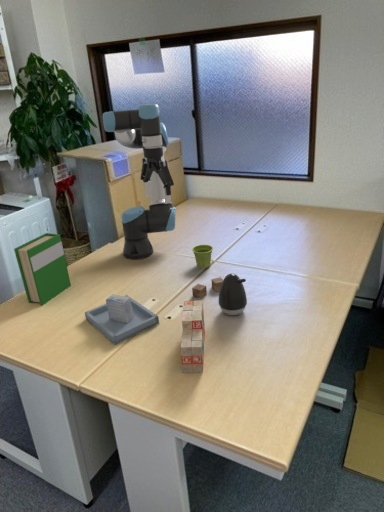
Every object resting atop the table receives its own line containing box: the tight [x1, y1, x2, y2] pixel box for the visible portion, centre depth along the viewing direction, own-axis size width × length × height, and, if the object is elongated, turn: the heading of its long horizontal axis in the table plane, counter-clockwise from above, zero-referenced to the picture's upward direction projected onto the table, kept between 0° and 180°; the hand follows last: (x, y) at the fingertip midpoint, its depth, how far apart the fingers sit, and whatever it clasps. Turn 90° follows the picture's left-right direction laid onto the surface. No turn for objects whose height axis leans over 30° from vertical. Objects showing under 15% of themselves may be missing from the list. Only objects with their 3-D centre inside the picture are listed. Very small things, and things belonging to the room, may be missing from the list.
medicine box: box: [105, 294, 134, 323], centre depth 144 cm, size 8×4×9 cm, turn 64°
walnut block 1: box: [191, 283, 208, 300], centre depth 159 cm, size 4×4×4 cm
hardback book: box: [13, 232, 72, 307], centre depth 166 cm, size 18×7×24 cm, turn 156°
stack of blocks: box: [180, 300, 206, 374], centre depth 125 cm, size 21×6×12 cm, turn 177°
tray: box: [84, 294, 160, 345], centre depth 146 cm, size 22×18×3 cm
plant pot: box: [191, 244, 214, 269], centre depth 183 cm, size 9×9×9 cm
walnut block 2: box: [210, 276, 224, 292], centre depth 163 cm, size 4×4×4 cm
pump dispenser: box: [218, 273, 248, 316], centre depth 144 cm, size 10×10×15 cm
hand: (158, 200), depth 164 cm, fingers open, 13 cm apart
